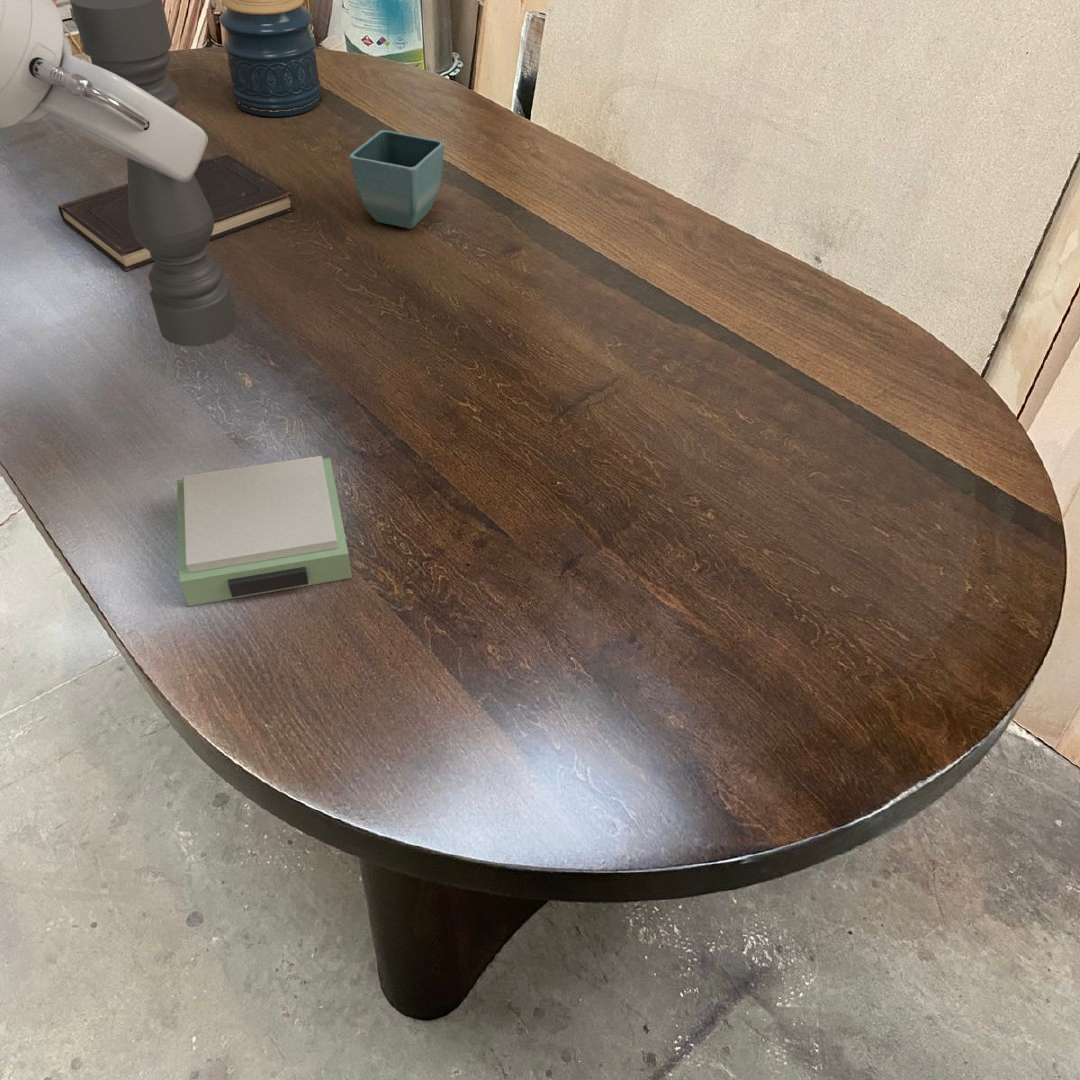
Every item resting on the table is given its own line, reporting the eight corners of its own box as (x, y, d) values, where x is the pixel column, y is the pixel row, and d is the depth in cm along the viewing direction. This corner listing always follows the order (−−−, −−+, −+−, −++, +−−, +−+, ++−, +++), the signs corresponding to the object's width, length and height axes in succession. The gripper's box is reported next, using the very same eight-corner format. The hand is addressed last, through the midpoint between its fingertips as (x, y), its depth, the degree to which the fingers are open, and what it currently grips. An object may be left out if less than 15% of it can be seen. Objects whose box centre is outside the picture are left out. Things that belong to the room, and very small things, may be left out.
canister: (304, 79, 153) (288, -47, 140) (335, 109, 145) (320, -21, 132) (223, 93, 148) (199, -37, 135) (250, 124, 140) (227, -10, 127)
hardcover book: (294, 210, 123) (291, 193, 121) (126, 271, 111) (120, 253, 109) (226, 167, 130) (222, 151, 129) (62, 221, 118) (56, 203, 117)
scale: (188, 611, 76) (176, 577, 73) (184, 505, 84) (174, 471, 82) (353, 582, 79) (347, 548, 76) (334, 482, 87) (328, 448, 84)
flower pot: (386, 196, 126) (381, 127, 120) (448, 209, 124) (446, 140, 118) (354, 226, 120) (347, 155, 114) (418, 240, 118) (414, 169, 112)
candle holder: (219, 350, 78) (138, 14, 60) (146, 341, 78) (45, 5, 61) (247, 309, 82) (180, -15, 64) (178, 301, 83) (93, -23, 65)
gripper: (117, 37, 53) (278, 154, 66) (-81, -40, 62) (96, 77, 74) (71, 143, 54) (239, 238, 67) (-119, 52, 62) (63, 153, 75)
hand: (162, 153), depth 70 cm, fingers closed on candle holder, 4 cm apart
